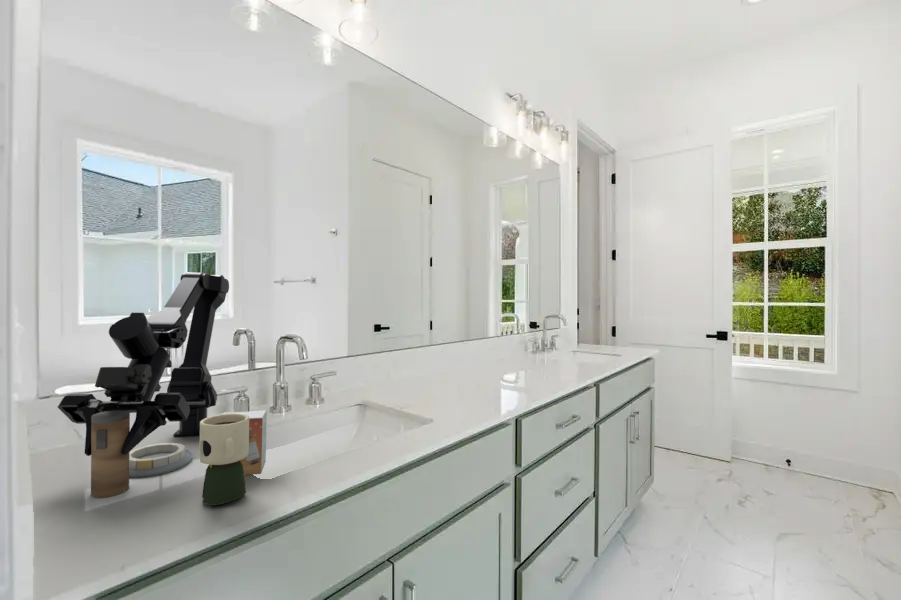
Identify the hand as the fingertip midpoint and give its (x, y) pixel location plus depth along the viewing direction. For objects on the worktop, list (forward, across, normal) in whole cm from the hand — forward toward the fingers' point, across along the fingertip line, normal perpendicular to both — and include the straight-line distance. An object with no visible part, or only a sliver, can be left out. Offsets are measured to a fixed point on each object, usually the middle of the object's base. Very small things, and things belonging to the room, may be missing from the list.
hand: (105, 454), depth 70 cm
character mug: (+8, +20, +2) cm, 21 cm away
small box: (-1, +18, +11) cm, 21 cm away
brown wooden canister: (+4, 0, +6) cm, 7 cm away
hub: (-4, +1, +14) cm, 14 cm away
